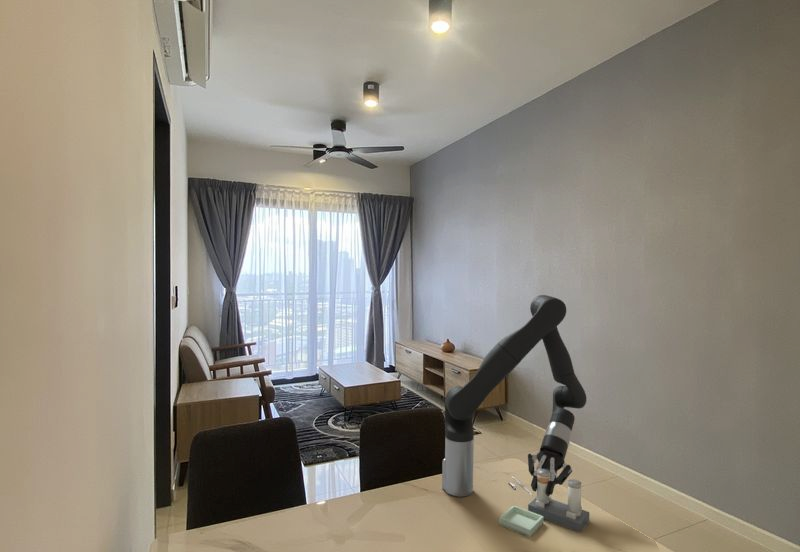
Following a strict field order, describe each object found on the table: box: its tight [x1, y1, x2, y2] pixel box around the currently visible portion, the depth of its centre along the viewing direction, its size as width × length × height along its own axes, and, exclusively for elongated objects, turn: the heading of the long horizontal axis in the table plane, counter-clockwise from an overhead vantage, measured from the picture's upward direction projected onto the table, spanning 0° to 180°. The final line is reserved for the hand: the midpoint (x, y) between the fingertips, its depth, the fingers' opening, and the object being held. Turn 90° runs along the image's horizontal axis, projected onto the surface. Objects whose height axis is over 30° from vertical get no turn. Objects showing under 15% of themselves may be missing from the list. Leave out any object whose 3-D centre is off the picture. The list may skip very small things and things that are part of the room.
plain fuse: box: [567, 478, 582, 517], centre depth 122 cm, size 4×4×9 cm
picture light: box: [507, 476, 533, 497], centre depth 144 cm, size 14×4×2 cm, turn 13°
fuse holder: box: [527, 495, 590, 534], centre depth 125 cm, size 15×8×4 cm, turn 50°
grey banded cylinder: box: [536, 468, 550, 504], centre depth 128 cm, size 4×4×9 cm
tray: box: [498, 504, 545, 538], centre depth 121 cm, size 9×9×2 cm
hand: (540, 492), depth 127 cm, fingers closed on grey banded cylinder, 3 cm apart
